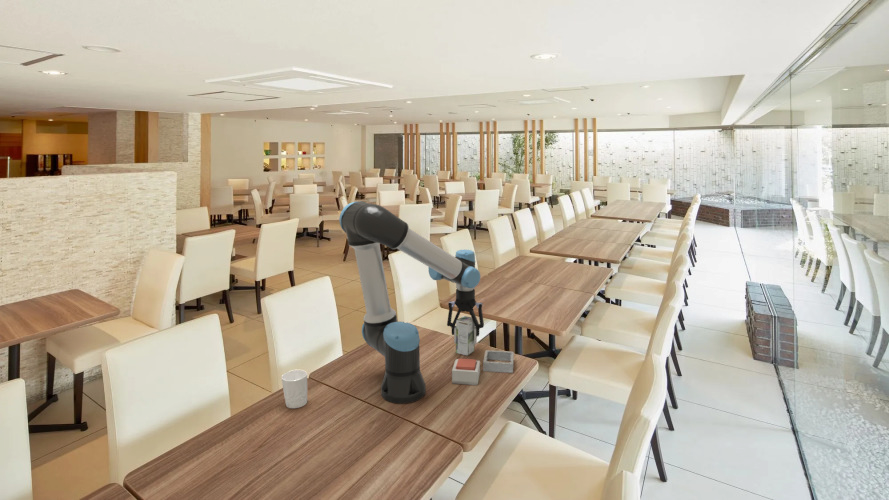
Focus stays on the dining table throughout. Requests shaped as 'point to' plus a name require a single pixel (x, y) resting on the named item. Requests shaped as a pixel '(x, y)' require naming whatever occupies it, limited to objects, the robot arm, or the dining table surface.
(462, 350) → the syrup box
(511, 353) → the frame
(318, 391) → the dining table surface
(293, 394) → the white cup
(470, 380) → the switch box
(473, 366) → the button
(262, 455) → the dining table surface
